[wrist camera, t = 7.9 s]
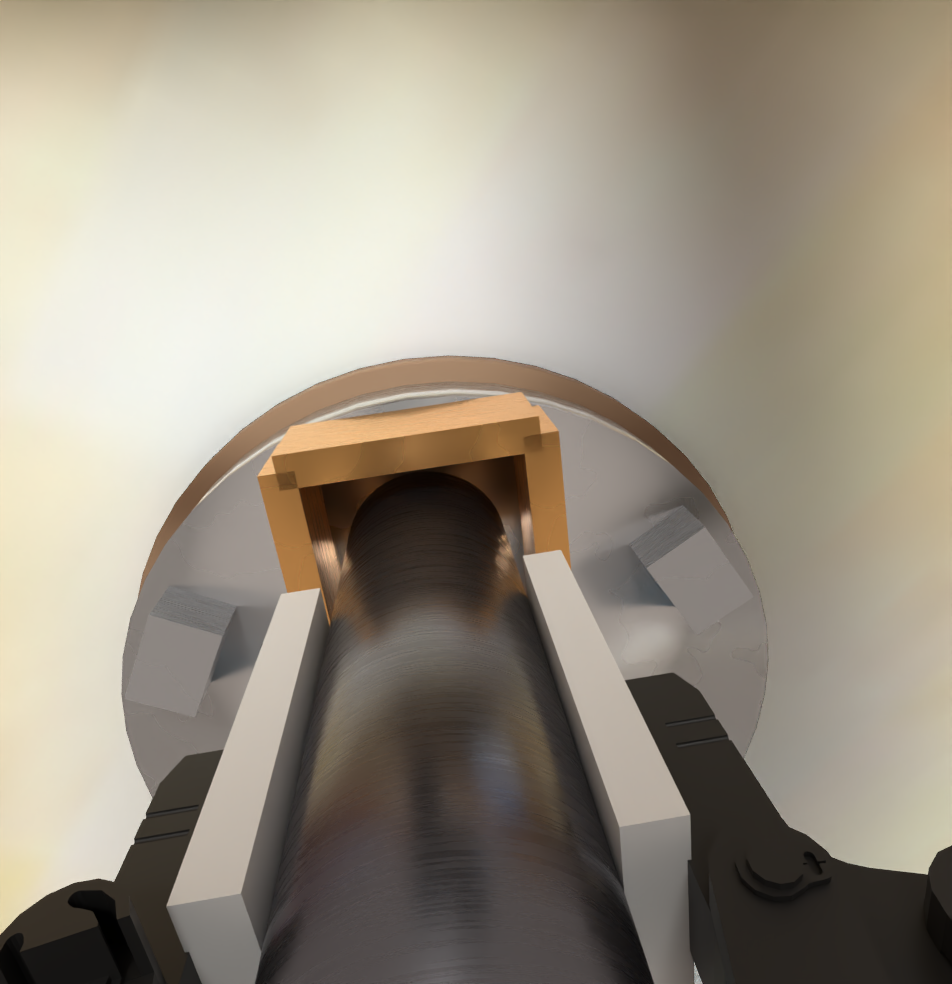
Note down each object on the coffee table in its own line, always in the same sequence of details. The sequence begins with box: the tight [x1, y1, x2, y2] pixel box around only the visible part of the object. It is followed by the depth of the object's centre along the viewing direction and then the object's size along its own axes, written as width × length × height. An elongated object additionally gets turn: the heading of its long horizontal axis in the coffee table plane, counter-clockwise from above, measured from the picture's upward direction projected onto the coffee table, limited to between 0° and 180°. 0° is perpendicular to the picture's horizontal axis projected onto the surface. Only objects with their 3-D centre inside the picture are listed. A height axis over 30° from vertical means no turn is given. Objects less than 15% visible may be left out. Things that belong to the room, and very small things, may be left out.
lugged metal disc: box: [122, 381, 768, 798], centre depth 20 cm, size 19×19×4 cm
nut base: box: [138, 356, 733, 597], centre depth 23 cm, size 20×20×1 cm
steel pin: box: [255, 471, 654, 984], centre depth 10 cm, size 4×4×16 cm
